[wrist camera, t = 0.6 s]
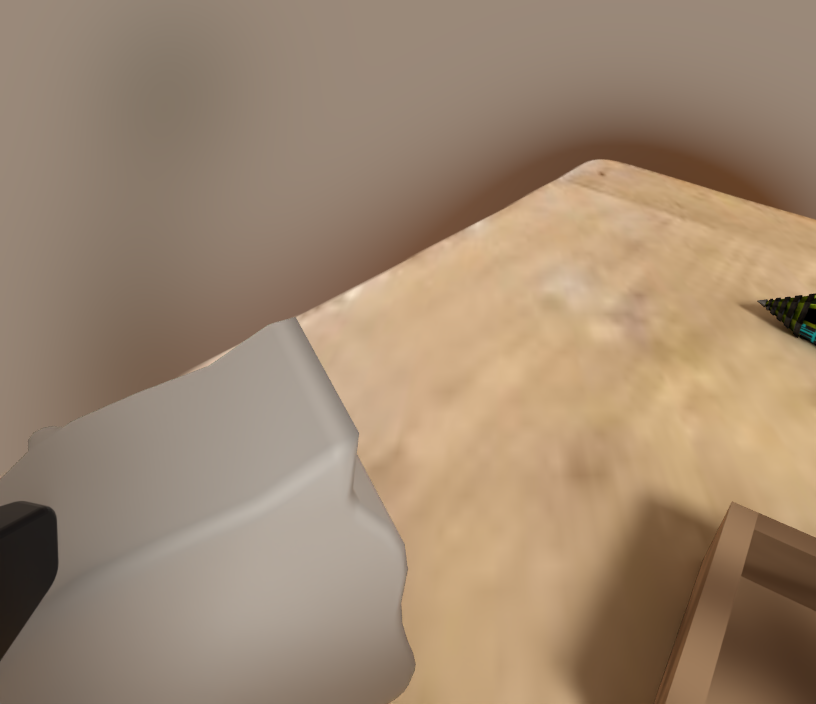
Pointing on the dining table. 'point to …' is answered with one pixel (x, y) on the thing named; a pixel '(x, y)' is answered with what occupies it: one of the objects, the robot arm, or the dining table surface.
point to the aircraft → (795, 314)
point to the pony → (214, 546)
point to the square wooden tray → (748, 619)
